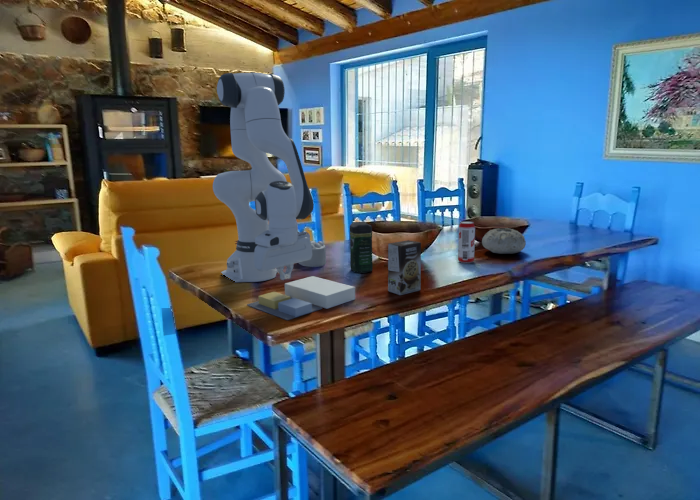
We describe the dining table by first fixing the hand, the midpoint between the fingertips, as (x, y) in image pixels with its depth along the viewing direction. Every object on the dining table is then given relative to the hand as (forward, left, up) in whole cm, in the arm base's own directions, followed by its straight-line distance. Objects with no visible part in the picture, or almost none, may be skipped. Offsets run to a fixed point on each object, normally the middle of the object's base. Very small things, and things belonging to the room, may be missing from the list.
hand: (285, 278), depth 159 cm
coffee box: (+22, +32, -7) cm, 39 cm away
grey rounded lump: (+19, +102, -7) cm, 104 cm away
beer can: (+16, +78, -7) cm, 80 cm away
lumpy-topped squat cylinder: (-31, +37, -7) cm, 49 cm away
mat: (+5, -5, -7) cm, 10 cm away
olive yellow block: (+1, -5, -5) cm, 8 cm away
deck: (+6, +9, -7) cm, 13 cm away
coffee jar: (-7, +42, -7) cm, 43 cm away
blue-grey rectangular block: (+11, -5, -5) cm, 13 cm away
